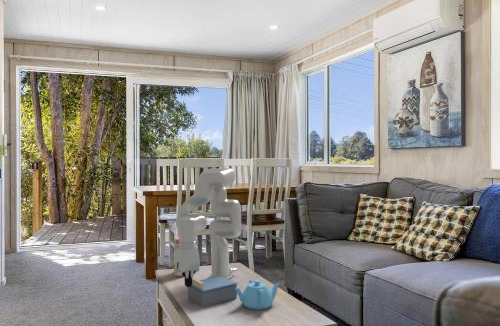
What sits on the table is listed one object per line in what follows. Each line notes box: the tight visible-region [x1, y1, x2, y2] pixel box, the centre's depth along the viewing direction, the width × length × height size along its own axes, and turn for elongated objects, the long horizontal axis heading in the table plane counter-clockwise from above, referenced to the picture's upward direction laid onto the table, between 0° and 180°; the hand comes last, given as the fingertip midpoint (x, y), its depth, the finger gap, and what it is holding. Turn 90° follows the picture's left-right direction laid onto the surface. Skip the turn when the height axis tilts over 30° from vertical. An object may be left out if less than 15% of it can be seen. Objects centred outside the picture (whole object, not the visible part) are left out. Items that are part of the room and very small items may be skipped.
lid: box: [192, 276, 238, 292], centre depth 193 cm, size 18×14×3 cm
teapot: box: [235, 279, 280, 311], centre depth 183 cm, size 15×15×11 cm
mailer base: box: [187, 284, 238, 308], centre depth 193 cm, size 18×14×6 cm
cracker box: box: [173, 236, 184, 278], centre depth 235 cm, size 14×6×21 cm, turn 168°
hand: (188, 286), depth 185 cm, fingers closed
